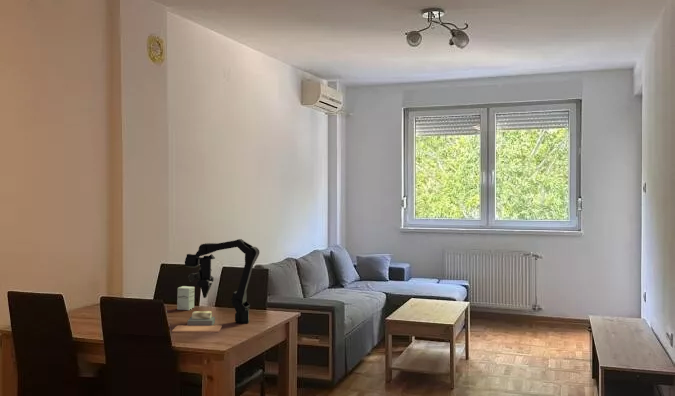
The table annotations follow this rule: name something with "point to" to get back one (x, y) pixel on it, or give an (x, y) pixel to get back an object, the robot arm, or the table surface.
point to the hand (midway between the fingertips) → (204, 297)
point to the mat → (196, 328)
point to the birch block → (202, 315)
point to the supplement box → (185, 298)
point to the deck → (201, 321)
